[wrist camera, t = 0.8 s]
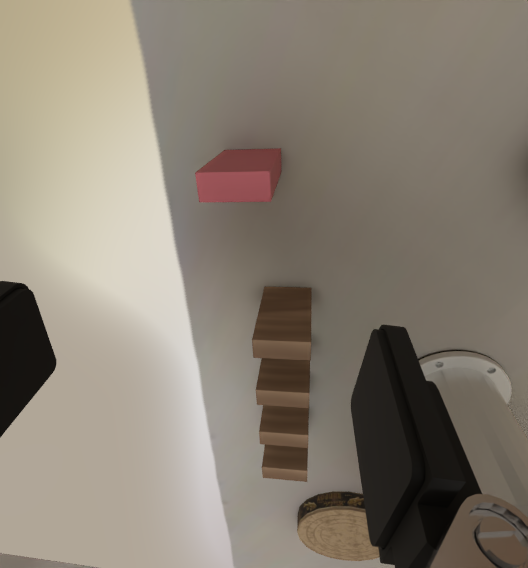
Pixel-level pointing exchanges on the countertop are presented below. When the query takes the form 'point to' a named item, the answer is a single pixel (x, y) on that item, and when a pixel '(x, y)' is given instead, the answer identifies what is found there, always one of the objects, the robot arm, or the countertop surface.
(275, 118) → the countertop surface
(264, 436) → the domino
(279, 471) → the domino
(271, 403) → the domino
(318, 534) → the wooden log slice
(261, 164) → the maroon domino
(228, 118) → the countertop surface
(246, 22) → the countertop surface
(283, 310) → the domino
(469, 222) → the countertop surface
